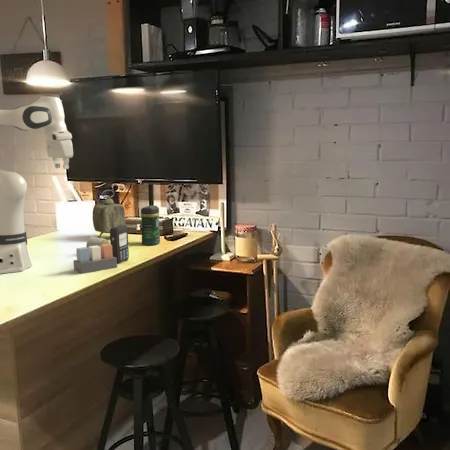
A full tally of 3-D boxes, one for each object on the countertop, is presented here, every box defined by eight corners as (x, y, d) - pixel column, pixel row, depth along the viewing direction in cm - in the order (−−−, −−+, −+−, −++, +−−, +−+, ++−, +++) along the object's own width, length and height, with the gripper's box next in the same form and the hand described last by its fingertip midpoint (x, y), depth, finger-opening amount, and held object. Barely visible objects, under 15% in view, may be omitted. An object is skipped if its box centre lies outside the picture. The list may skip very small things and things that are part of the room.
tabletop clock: (118, 235, 289) (116, 187, 285) (128, 237, 283) (125, 189, 278) (93, 239, 280) (90, 190, 275) (103, 242, 273) (100, 191, 269)
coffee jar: (155, 246, 261) (154, 207, 258) (139, 245, 263) (138, 206, 260) (162, 242, 271) (161, 204, 268) (147, 241, 272) (145, 204, 269)
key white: (93, 262, 217) (92, 248, 216) (89, 260, 220) (88, 246, 219) (101, 261, 219) (100, 246, 218) (97, 259, 222) (96, 245, 221)
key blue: (80, 264, 214) (80, 249, 213) (77, 262, 217) (76, 248, 216) (89, 263, 216) (88, 248, 215) (85, 261, 219) (84, 247, 218)
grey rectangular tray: (81, 273, 213) (81, 263, 212) (74, 270, 219) (73, 260, 218) (117, 267, 222) (116, 257, 221) (108, 264, 228) (108, 254, 227)
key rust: (104, 260, 220) (104, 246, 219) (101, 258, 223) (100, 244, 222) (112, 259, 222) (112, 244, 221) (108, 257, 225) (108, 243, 224)
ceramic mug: (101, 256, 242) (101, 239, 240) (86, 255, 245) (85, 238, 244) (115, 251, 251) (114, 235, 250) (100, 250, 254) (99, 234, 253)
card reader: (118, 264, 226) (117, 228, 224) (110, 264, 228) (108, 228, 225) (130, 259, 235) (128, 224, 232) (121, 259, 236) (120, 224, 234)
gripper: (40, 136, 236) (45, 168, 239) (58, 136, 219) (64, 170, 223) (54, 134, 239) (60, 166, 242) (73, 134, 223) (78, 168, 226)
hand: (62, 168), depth 232 cm, fingers open, 8 cm apart
